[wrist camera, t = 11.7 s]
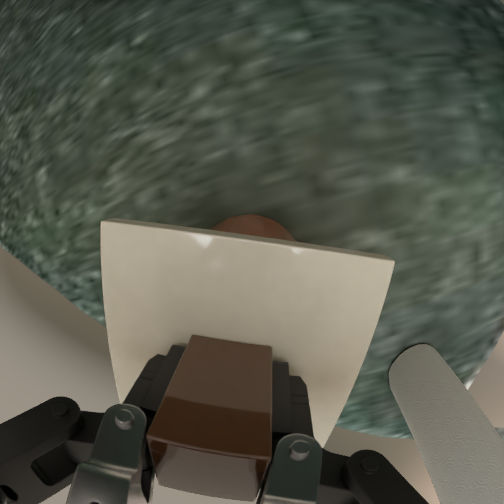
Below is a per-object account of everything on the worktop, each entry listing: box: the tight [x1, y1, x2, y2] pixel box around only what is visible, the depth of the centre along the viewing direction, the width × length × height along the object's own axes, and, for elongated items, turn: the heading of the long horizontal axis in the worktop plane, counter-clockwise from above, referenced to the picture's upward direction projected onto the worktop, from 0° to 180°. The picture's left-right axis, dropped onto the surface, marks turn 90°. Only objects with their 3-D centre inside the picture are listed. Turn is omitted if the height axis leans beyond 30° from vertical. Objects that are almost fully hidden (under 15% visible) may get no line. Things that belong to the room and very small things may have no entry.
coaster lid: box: [101, 218, 395, 502], centre depth 8 cm, size 10×10×6 cm
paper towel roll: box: [388, 344, 504, 504], centre depth 14 cm, size 7×6×21 cm
